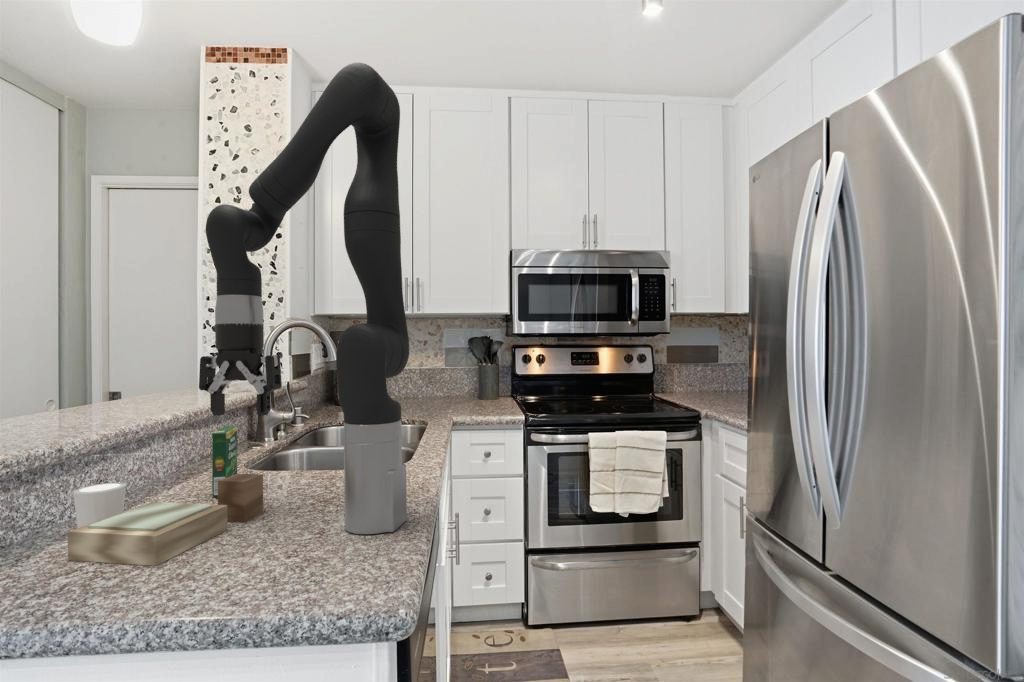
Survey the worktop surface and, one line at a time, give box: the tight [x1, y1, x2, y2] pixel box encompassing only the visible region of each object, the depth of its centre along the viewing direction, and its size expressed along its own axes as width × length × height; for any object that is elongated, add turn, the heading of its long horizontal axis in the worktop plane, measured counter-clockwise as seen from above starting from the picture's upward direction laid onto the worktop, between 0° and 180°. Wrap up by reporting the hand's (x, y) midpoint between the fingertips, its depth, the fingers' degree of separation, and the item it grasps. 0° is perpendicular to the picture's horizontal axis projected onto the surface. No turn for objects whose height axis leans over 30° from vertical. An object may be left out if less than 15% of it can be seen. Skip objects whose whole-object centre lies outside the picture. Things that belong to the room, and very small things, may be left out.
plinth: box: [67, 501, 228, 567], centre depth 79 cm, size 14×14×4 cm
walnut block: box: [217, 473, 264, 524], centre depth 91 cm, size 5×5×7 cm
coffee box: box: [211, 425, 238, 498], centre depth 107 cm, size 8×3×13 cm, turn 13°
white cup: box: [73, 482, 127, 528], centre depth 85 cm, size 7×7×7 cm
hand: (240, 415), depth 91 cm, fingers open, 8 cm apart
